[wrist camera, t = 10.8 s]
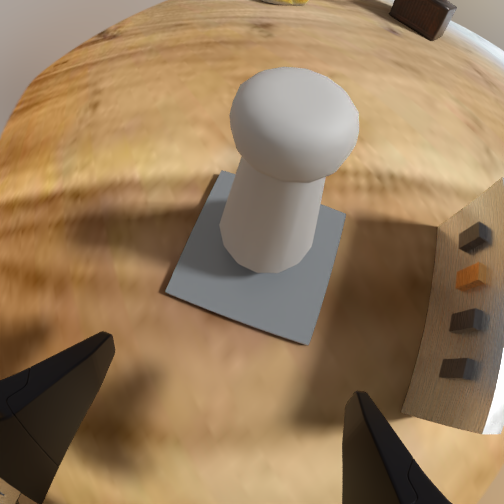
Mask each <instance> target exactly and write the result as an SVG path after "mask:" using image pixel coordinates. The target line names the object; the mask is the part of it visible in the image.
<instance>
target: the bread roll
mask: <svg viewBox="0 0 504 504" xmlns="http://www.w3.org/2000/svg"><path fill="white" fill-rule="evenodd" d="M262 1H264V2H267V3H272V4H277V5H291V4H292V5H298V6H300V5H305V4H306V3H307V2H308V1H309V0H262Z"/></svg>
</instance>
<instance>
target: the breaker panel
mask: <svg viewBox="0 0 504 504" xmlns="http://www.w3.org/2000/svg"><path fill="white" fill-rule="evenodd" d="M401 413H404V414H407V415H410V416H414V417H417V418H420V419H424V420H427V421H431V422H434V423H438V424H442V425H446V426H449V427H453V428H457V429H461V430H466V431H470V432H474V433H479V434H501V432H502V429H503V426H504V178H503V177H502V178H501V179H499V180H498V181H497V182H496V183H495V184H493V185H492V186H491V187H490V188H488V189H487V190H486V191H485V192H483V193H482V194H481V195H479V196H478V197H477V198H476V199H474V200H473V201H472V202H470V203H469V204H468V205H466V206H465V207H464V208H462V209H461V210H460V211H458V212H457V213H456V214H454V215H453V216H452V217H450V218H449V219H447V220H446V221H445V222H443V223H442V224H441V225H439V226H438V228H437V243H436V254H435V264H434V273H433V280H432V287H431V294H430V300H429V306H428V312H427V317H426V322H425V327H424V332H423V336H422V341H421V345H420V349H419V353H418V357H417V361H416V365H415V369H414V372H413V376H412V379H411V382H410V386H409V389H408V392H407V395H406V398H405V401H404V404H403V407H402V410H401Z"/></svg>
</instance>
